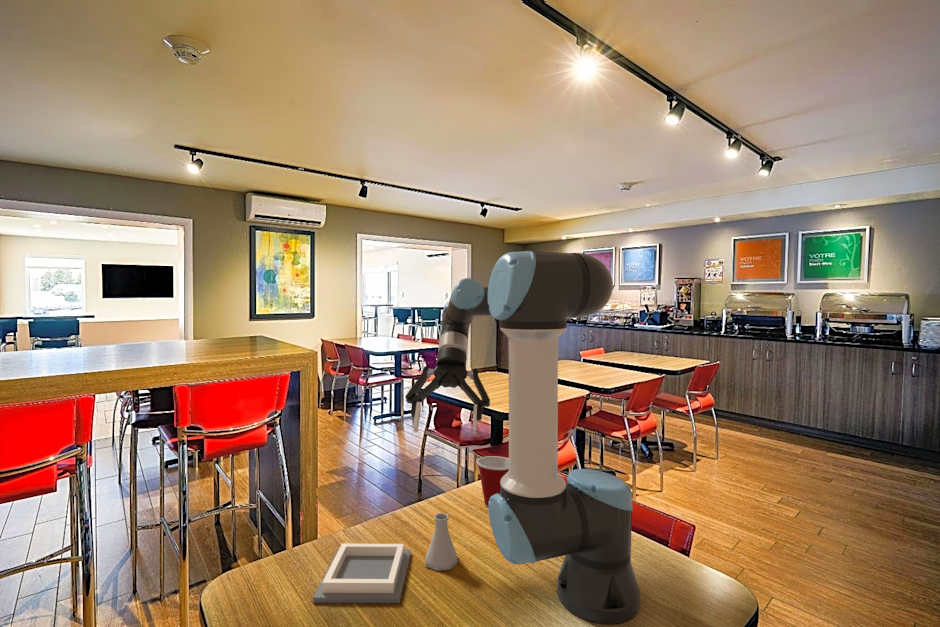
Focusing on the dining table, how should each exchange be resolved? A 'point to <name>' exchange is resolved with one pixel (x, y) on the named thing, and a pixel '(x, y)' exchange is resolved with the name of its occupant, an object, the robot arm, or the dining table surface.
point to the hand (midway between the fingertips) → (444, 431)
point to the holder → (365, 574)
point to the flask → (441, 546)
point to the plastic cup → (492, 474)
